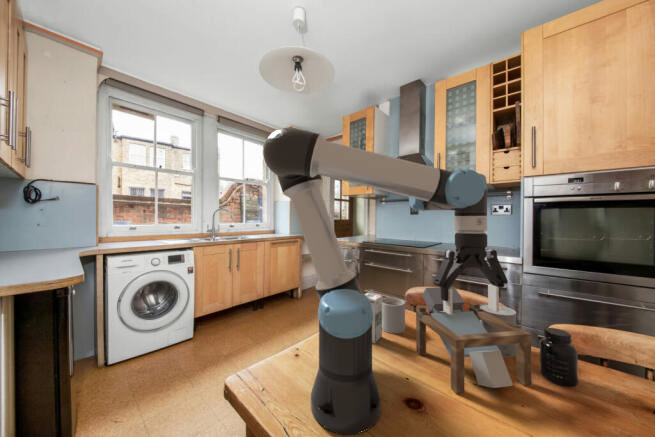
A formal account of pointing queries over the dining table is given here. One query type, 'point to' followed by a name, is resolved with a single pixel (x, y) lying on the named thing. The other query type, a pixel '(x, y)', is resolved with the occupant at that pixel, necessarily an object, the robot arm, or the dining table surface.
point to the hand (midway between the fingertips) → (471, 311)
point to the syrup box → (376, 316)
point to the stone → (490, 369)
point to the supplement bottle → (559, 358)
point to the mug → (393, 315)
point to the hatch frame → (476, 343)
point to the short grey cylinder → (507, 316)
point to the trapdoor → (455, 318)
